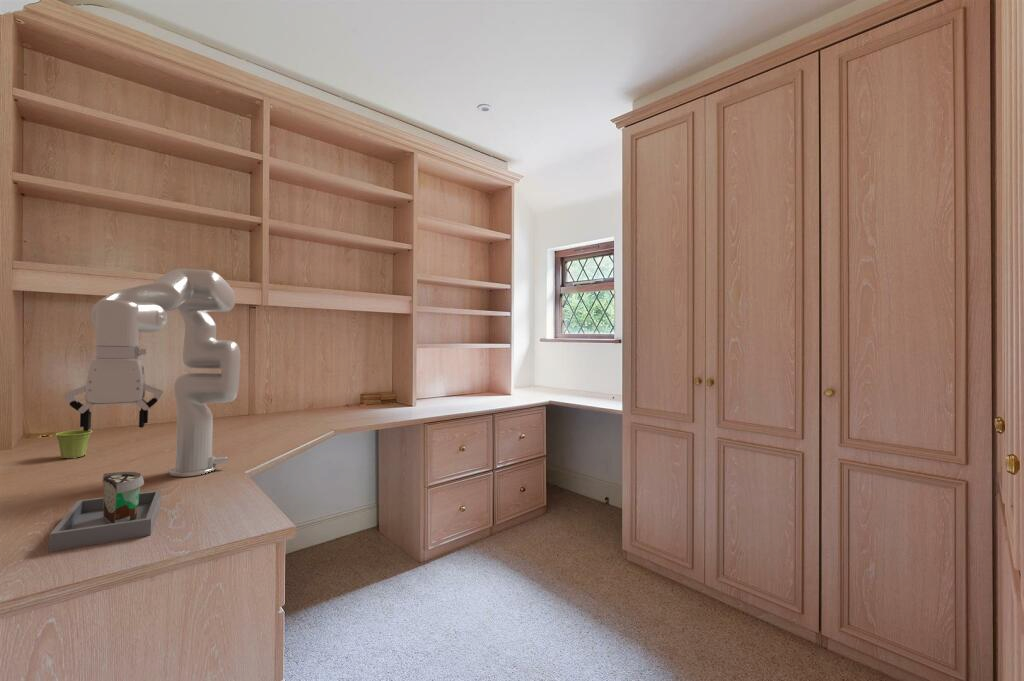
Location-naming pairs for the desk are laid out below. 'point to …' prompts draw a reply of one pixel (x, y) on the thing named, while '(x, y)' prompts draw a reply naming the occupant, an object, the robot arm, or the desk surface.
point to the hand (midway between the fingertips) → (115, 428)
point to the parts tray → (103, 523)
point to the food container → (121, 496)
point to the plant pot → (73, 443)
